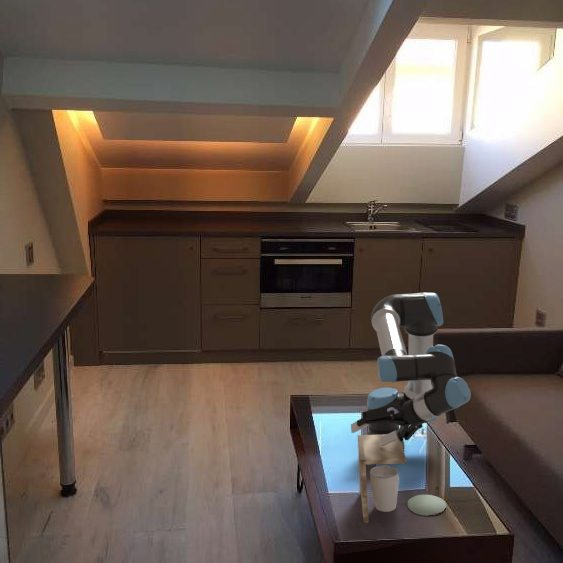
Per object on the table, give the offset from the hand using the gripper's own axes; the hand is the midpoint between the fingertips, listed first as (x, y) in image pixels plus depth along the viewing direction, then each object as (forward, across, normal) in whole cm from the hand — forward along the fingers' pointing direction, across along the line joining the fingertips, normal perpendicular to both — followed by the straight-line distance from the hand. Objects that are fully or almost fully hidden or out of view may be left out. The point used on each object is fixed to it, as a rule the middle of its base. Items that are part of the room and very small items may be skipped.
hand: (366, 435), depth 192 cm
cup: (+11, +19, -14) cm, 26 cm away
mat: (+2, +28, -14) cm, 31 cm away
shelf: (+11, +19, -14) cm, 26 cm away
